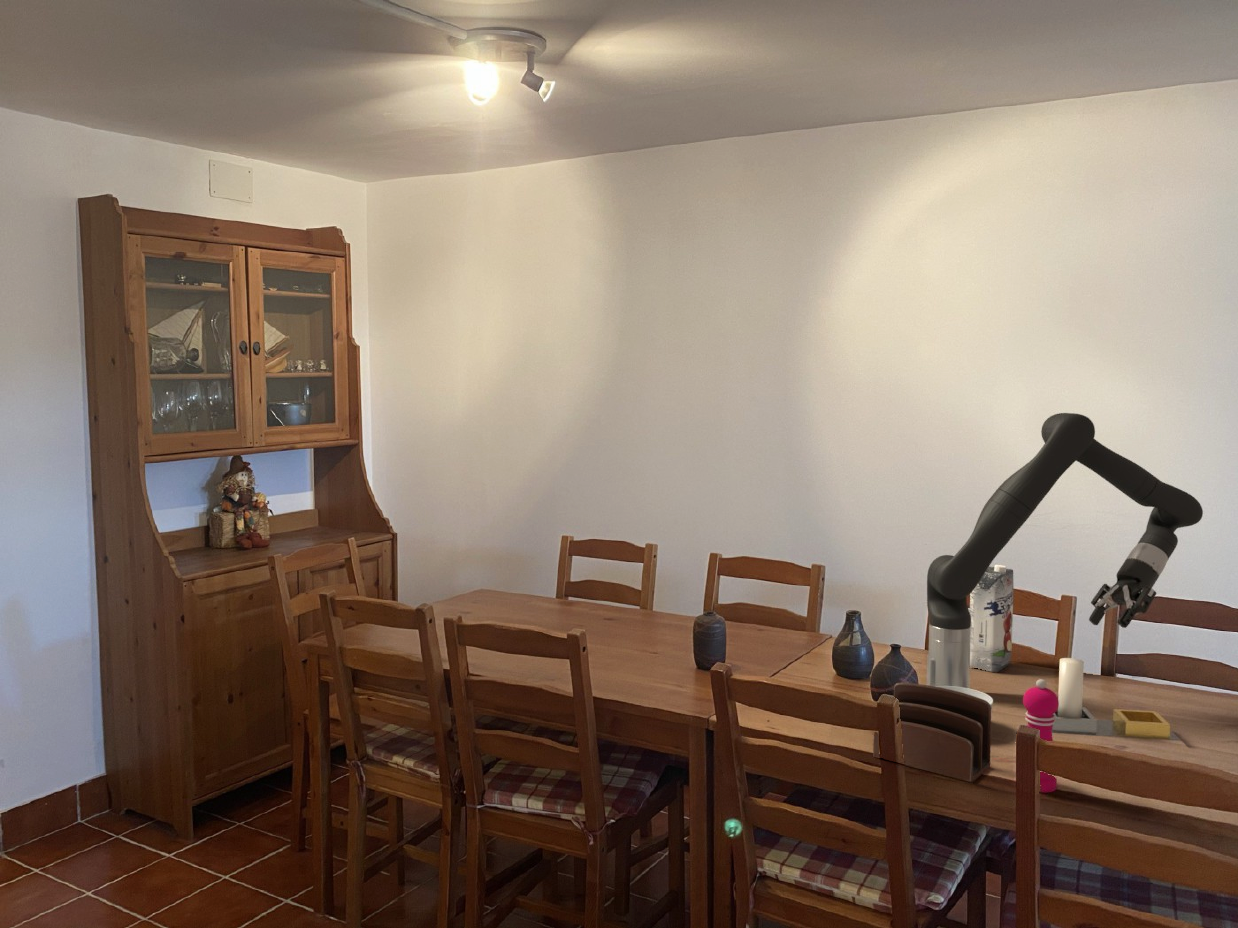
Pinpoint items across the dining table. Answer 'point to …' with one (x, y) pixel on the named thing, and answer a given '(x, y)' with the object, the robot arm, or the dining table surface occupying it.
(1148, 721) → the peg insertion base
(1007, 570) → the juice carton
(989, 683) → the dining table surface
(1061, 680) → the cream peg
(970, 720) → the letter holder
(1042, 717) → the pepper mill
